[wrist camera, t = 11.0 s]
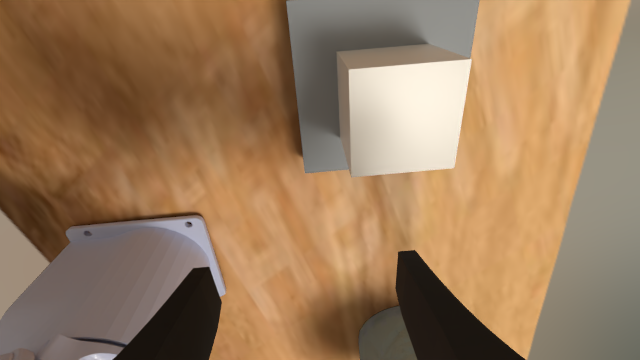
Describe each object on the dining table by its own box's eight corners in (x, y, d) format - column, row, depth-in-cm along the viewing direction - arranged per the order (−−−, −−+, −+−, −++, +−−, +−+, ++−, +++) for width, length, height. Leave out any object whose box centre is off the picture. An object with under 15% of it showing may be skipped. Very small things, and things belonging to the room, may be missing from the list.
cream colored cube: (340, 138, 18) (351, 177, 14) (336, 51, 16) (348, 69, 12) (420, 131, 18) (454, 168, 14) (428, 43, 16) (471, 58, 12)
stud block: (304, 158, 21) (305, 191, 17) (287, 0, 16) (284, 1, 13) (441, 146, 21) (469, 176, 17) (462, -14, 16) (506, -18, 13)
